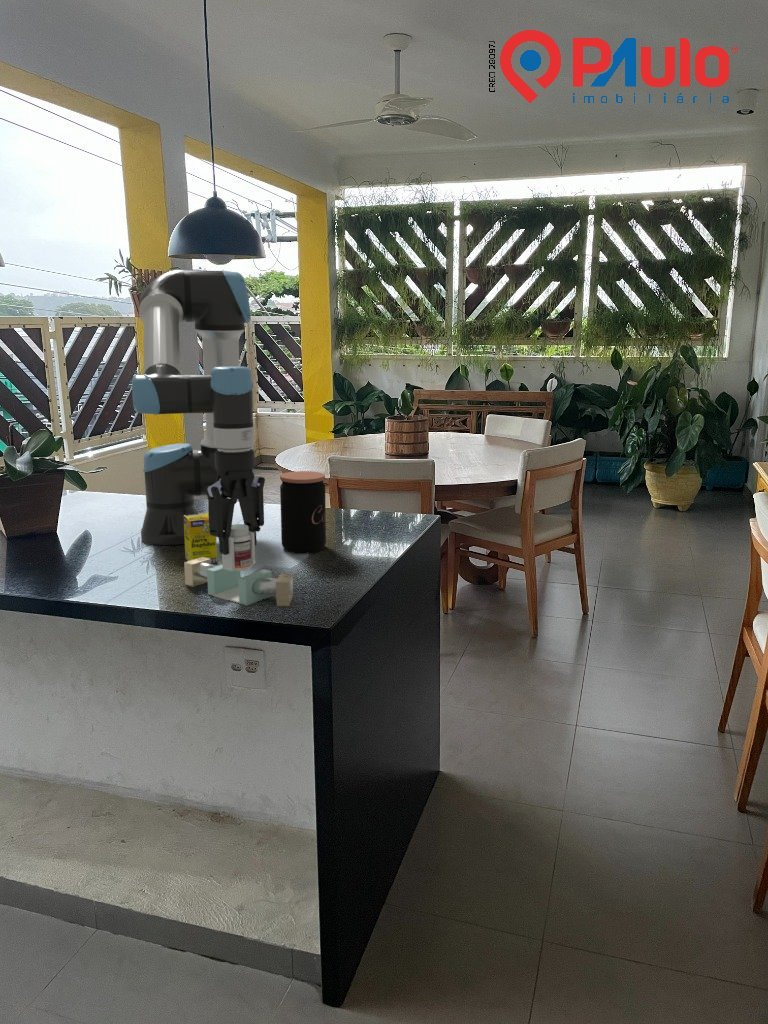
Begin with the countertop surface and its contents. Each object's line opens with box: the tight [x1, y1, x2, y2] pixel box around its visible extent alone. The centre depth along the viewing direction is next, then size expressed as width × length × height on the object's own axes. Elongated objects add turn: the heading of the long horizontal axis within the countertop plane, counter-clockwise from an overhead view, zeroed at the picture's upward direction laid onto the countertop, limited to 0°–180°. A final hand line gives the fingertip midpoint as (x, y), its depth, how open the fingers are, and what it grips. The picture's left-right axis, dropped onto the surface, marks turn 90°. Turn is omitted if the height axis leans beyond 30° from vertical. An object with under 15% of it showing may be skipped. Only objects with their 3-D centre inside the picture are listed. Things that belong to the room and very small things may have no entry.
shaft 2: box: [252, 573, 294, 607], centre depth 148 cm, size 8×5×5 cm, turn 88°
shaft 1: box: [183, 557, 217, 588], centre depth 157 cm, size 9×5×5 cm, turn 53°
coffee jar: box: [279, 470, 327, 555], centre depth 182 cm, size 11×11×18 cm
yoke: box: [207, 564, 273, 607], centre depth 151 cm, size 11×7×5 cm, turn 53°
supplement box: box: [184, 512, 218, 566], centre depth 171 cm, size 6×6×11 cm
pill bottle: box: [230, 523, 253, 572], centre depth 149 cm, size 5×5×8 cm
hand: (239, 565), depth 150 cm, fingers closed on pill bottle, 5 cm apart
